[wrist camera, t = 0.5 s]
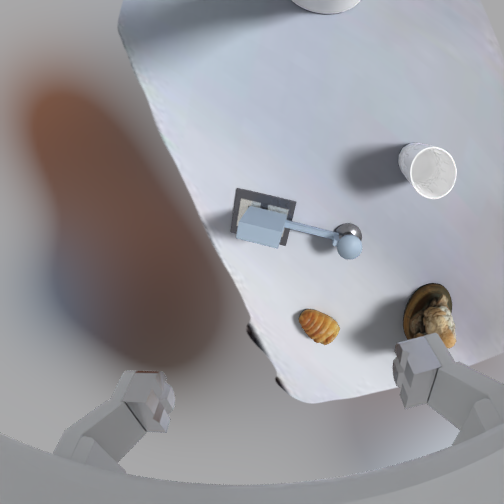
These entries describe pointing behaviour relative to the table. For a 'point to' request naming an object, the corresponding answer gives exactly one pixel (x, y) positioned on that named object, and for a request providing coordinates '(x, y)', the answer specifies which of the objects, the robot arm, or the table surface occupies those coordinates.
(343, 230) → the pivot post
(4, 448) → the robot arm
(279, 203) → the label panel
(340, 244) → the swing arm
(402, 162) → the white cup
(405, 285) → the table surface
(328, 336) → the pastry
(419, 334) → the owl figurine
